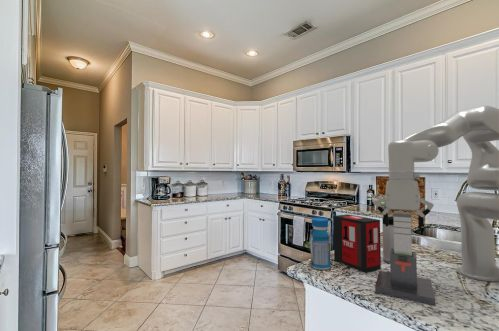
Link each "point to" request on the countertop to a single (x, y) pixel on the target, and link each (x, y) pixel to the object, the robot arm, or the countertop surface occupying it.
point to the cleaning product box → (357, 242)
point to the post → (402, 233)
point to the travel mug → (388, 239)
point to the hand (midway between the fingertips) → (403, 227)
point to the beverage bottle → (320, 244)
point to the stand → (405, 280)
